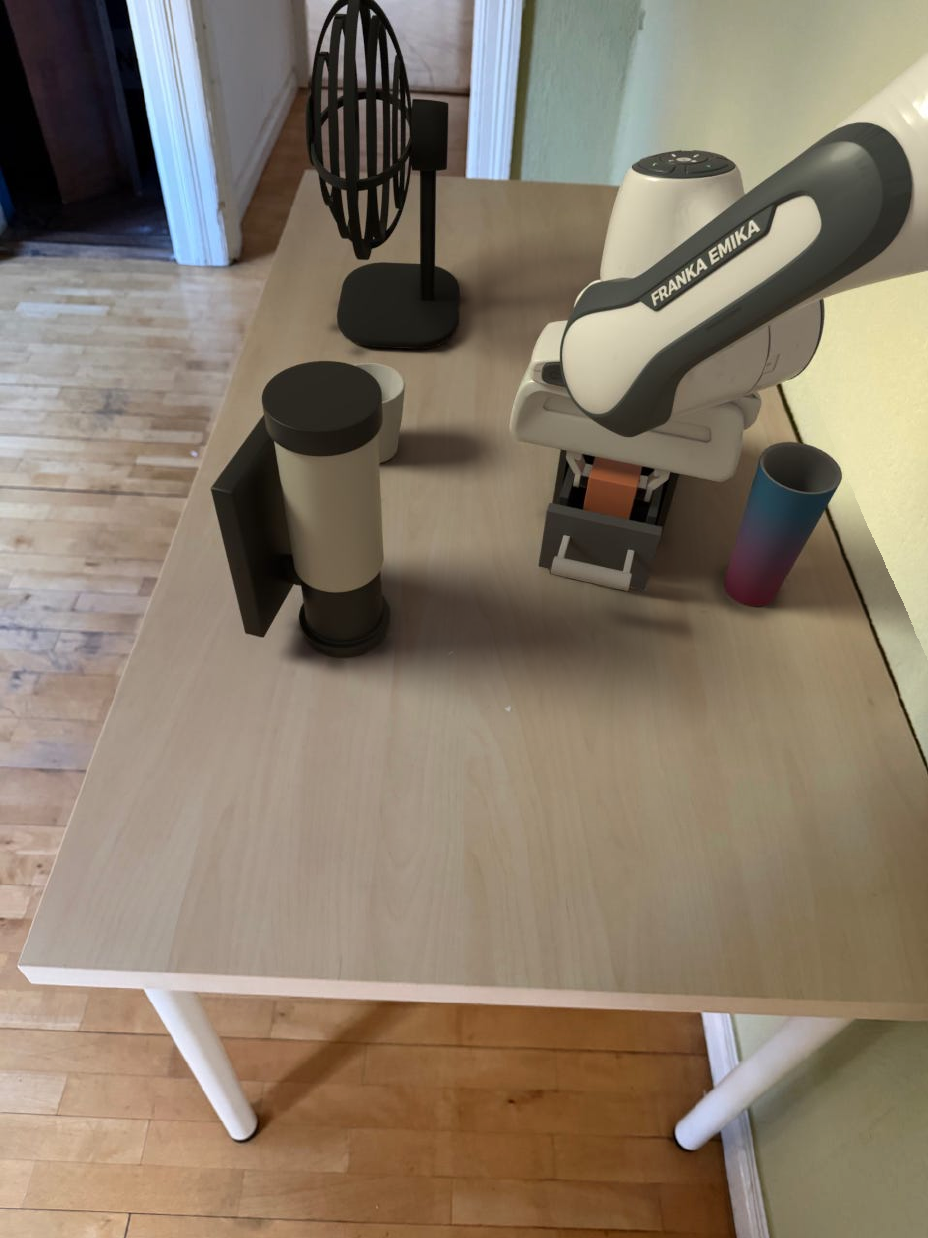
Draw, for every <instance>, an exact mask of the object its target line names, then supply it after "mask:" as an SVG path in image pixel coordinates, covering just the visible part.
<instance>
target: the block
mask: <svg viewBox="0 0 928 1238" xmlns="http://www.w3.org/2000/svg"><path fill="white" fill-rule="evenodd" d="M641 470H642V466H639V465H634V464H629V463H624V462H619V461H615V460H610V459H605V458H600V457H595V459H594V463H593V466H592V469H591V473H590V476H589V481H588V486H587V491H586V497H585V502H584V507H583V510H586V511H591V512H595V513H600V514H605V515H609V516H614V517H618V518H623V519H628V520H629V519H630V515H631V511H632V507H633V503H634V499H635V495H636V491H637V487H638V483H639V478H640V474H641Z"/></svg>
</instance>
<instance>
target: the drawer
mask: <svg viewBox="0 0 928 1238" xmlns="http://www.w3.org/2000/svg"><path fill="white" fill-rule="evenodd" d="M582 456H583V458H584V460H585V463H586V464H590V465H593V463H594V459H595V456H590V455H586V454H582ZM654 470H655V469H654V468H649V467H644V466H642V470H641V474H640V475H643V476H649V475H650V474H651V473H652V472H653V471H654ZM574 478H575V473H574V472H573V471H572V469H571V467H570V465H569V468H568V472H567V475H566V478H565V481H564V484H563V487H562V490H561V494H560V497H559V503H558V504H554V503H552V502H549V503H548V505H547V508H546V512H545V519H544V525H543V533H542V541H541V547H540V553H539V560H538V567H539V568H543V569H547V570H550V574H551V575H555V576H560V577H564V578H568V579H573V580H577V581H581V582H586V583H591V584H595V585H599V586H604V587H608V588H611V589H617V590H620V591H625V592H628V591H629V589H630V588H631V589H636V590H640V591H644V592H645V591H646V590H647V585H648V582H649V579H650V575H651V573H652V568H653V566H654V562H655V557H656V555H657V552H658V547H659V545H660V541H661V539H662V535H663V533H662V527H660V526H656V525H655V521H656V517H657V512H658V508H659V503H660V498H661V493H662V488H663V484H661V485H660V486H659V487H657V488H656V489H655V490H652V494H651V498H650V501H649V502H644V501H640V500H636V499H634V503H633V507H632V511H631V515H630V519H629V520H628V519H623V518H618V517H614V516H609V515H605V514H600V513H595V512H591V511H586V510H583V507H584V502H585V497H586V491H587V489H583V488H579V487H573V484H574ZM661 534H662V535H661Z"/></svg>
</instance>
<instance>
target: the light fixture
mask: <svg viewBox="0 0 928 1238" xmlns="http://www.w3.org/2000/svg"><path fill="white" fill-rule="evenodd" d="M354 365H355V364H351V363H347V362H343V361H335V360H317V361H308V362H302V363H298V364H296V365H292V366H289V367H288V368H286V369H284V370H281V371H280V372H278V373H276V374H275V375H274V376H273V377H272V378H271V379H270V380H268V382H267V383H266V384H265V386H264V388H263V390H262V393H261V405H262V412H263V415H262V417H260V418H259V420H258V421H257V423H256V424H255V426H254V428H252V430H251V432H250V433H249V434H248V435H247V437H246V438H245V439H244V441H243V443H241V445H240V446H239V448H238V449H237V450H236V451H235V454H234V455H233V456H232V458H231V459H230V460H229V462H228V463H227V464H226V466H225V468H223V470H222V471H221V473H220V474H219V476H218V477H217V478H216V480H215V481H214V483H213V484H212V485H211V487H210V492H211V497H212V501H213V505H214V510H215V513H216V516H217V522H218V526H219V530H220V535H221V538H222V542H223V547H224V551H225V554H226V555H225V556H226V560H227V563H228V567H229V571H230V576H231V578H232V584H233V588H234V592H235V596H236V602H237V605H238V608H239V613H240V618H241V622H242V625H243V630H244V633H245V634H246V635H250V636H254V637H258V638H265V637H266V635H267V633H268V631H269V629H270V628H271V626H272V624H273V622H274V621H275V619H276V617H277V615H278V614H279V612H280V610H281V608H282V606H283V604H284V603H285V601H286V599H287V597H288V595H289V594H290V592H291V590H292V589H293V587H294V585H295V586H298V587H300V589H301V595H302V601H303V602H302V603H301V606H300V608H299V613H298V624H299V629H300V633H301V636H302V638H303V639H304V641H305V642H306V643H307V644H308V645H309V647H311V648H312V649H313V650H315V651H317V652H318V653H320V654H323V655H326V656H330V657H335V658H350V657H355V656H359V655H364V654H365V653H367V652H369V651H371V650H373V649H375V648H376V647H377V646H379V644H381V643H382V641H383V640H384V639H385V638H386V636H387V634H388V633H389V630H390V627H391V609H390V605H389V603H388V600H387V599H386V597H385V596H384V595H383V591H382V590H383V589H382V568H383V564H384V559H385V557H384V556H385V555H384V537H383V519H382V518H383V516H382V515H383V513H382V495H381V494H382V493H381V475H380V473H381V471H380V463H379V449H378V432H379V430H380V428H381V426H382V421H383V413H382V391H381V388H380V385H379V383H378V382H377V380H376V379H375V378H374V377H373V376H372V375H371V374H369V373H368V372H367V371H365V370H363V369H361V368H359V367H357V366H354Z"/></svg>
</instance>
